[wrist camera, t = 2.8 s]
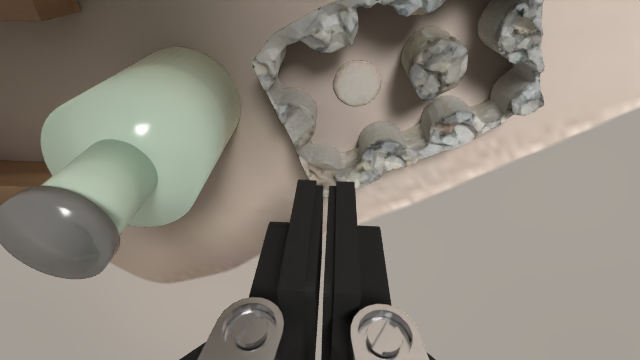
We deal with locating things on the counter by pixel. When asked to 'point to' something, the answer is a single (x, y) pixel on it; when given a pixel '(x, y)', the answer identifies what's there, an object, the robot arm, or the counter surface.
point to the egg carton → (425, 75)
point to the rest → (13, 176)
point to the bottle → (122, 161)
